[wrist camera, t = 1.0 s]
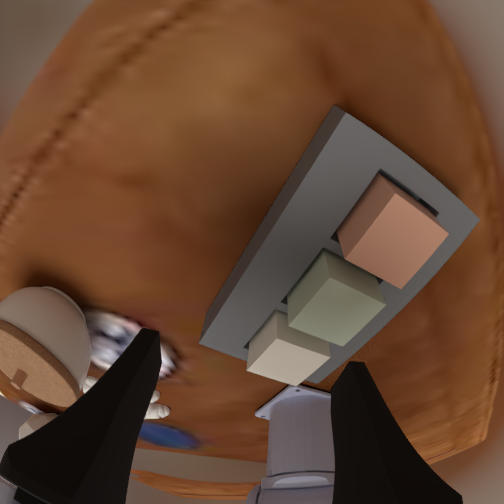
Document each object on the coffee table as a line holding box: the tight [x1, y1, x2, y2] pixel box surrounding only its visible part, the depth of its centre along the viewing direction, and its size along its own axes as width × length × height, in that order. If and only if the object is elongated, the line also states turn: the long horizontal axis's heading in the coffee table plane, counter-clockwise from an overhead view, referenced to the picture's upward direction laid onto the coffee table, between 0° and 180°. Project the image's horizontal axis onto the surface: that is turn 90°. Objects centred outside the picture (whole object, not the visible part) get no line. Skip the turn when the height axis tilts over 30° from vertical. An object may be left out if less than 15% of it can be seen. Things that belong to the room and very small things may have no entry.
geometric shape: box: [19, 413, 58, 440], centre depth 39 cm, size 14×15×15 cm
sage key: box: [287, 247, 386, 346], centre depth 17 cm, size 4×4×3 cm
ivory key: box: [247, 309, 331, 386], centre depth 19 cm, size 4×4×3 cm
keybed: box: [199, 105, 480, 384], centre depth 19 cm, size 10×17×3 cm, turn 153°
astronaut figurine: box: [83, 376, 170, 419], centre depth 32 cm, size 9×12×3 cm
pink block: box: [336, 173, 449, 289], centre depth 14 cm, size 4×4×3 cm
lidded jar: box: [0, 286, 91, 407], centre depth 21 cm, size 11×11×9 cm
